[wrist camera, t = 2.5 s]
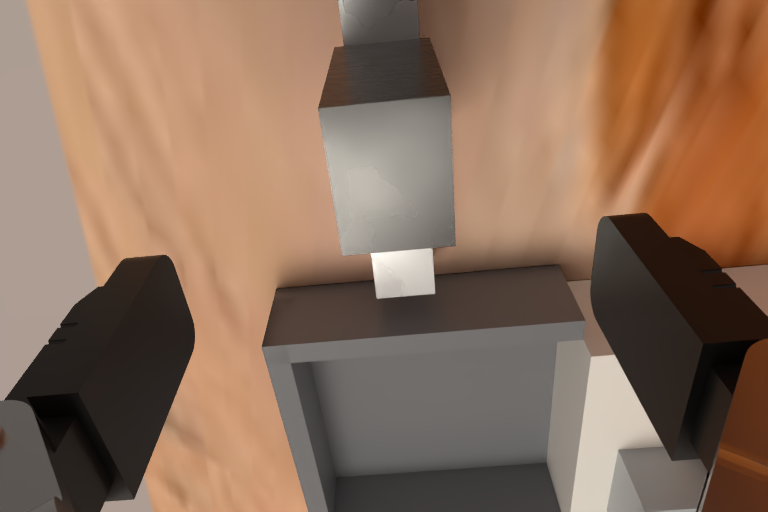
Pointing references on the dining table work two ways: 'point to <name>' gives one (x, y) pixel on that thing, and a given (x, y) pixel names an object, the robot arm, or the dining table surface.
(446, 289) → the box
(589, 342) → the long rectangular box
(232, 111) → the dining table surface
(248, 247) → the dining table surface
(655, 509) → the pale grey box
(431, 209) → the scraper
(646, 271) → the robot arm
